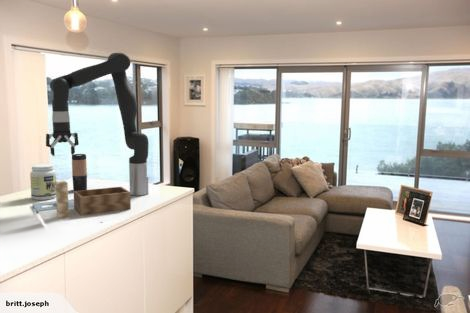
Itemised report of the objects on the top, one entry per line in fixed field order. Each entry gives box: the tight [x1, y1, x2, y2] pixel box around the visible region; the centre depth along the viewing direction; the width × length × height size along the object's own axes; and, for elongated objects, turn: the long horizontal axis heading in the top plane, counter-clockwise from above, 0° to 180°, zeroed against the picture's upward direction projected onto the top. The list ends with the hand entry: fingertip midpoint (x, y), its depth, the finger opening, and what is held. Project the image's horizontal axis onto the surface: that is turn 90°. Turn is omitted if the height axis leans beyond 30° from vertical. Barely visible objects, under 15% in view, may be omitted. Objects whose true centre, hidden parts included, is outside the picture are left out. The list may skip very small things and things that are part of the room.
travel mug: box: [71, 153, 88, 192], centre depth 236 cm, size 8×8×20 cm
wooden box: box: [73, 186, 132, 216], centre depth 195 cm, size 22×14×9 cm, turn 122°
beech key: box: [55, 180, 70, 219], centre depth 181 cm, size 4×4×16 cm
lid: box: [32, 198, 74, 214], centre depth 201 cm, size 23×15×5 cm, turn 122°
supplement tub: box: [29, 163, 57, 201], centre depth 218 cm, size 12×12×17 cm
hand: (63, 155), depth 202 cm, fingers open, 8 cm apart
